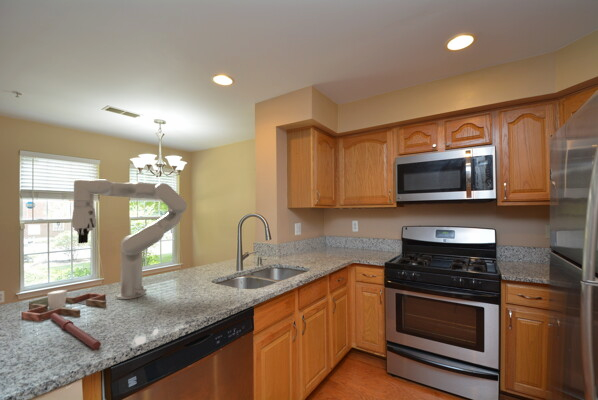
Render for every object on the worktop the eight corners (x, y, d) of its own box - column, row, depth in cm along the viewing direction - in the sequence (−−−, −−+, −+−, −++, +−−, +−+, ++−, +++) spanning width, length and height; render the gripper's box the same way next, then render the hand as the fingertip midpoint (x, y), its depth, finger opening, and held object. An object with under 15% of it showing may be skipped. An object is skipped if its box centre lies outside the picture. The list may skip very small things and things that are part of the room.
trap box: (121, 301, 129) (121, 294, 129) (56, 324, 103) (56, 315, 103) (76, 296, 138) (76, 289, 138) (6, 315, 113) (6, 307, 113)
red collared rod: (48, 321, 107) (48, 313, 107) (58, 318, 110) (58, 310, 110) (90, 353, 82) (91, 342, 82) (102, 348, 85) (102, 338, 85)
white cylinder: (70, 304, 125) (71, 289, 126) (54, 310, 119) (55, 294, 119) (59, 303, 127) (59, 289, 127) (42, 309, 120) (43, 293, 120)
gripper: (102, 204, 129) (102, 242, 128) (81, 205, 134) (80, 241, 133) (86, 204, 122) (85, 244, 121) (64, 205, 126) (63, 243, 126)
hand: (83, 242), depth 127 cm, fingers closed
